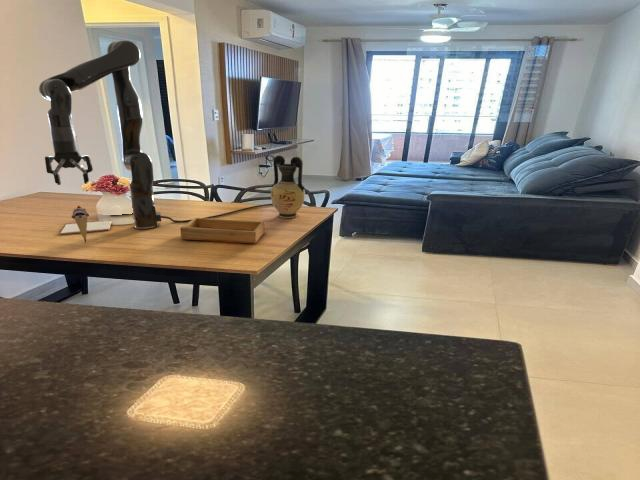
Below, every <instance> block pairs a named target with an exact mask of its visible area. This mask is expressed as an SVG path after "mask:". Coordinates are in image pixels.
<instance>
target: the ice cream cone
mask: <svg viewBox="0 0 640 480" xmlns="http://www.w3.org/2000/svg"><path fill="white" fill-rule="evenodd" d="M86 209H87V208H83V207H81V206H80V205H77V207H75V208H74V209H73V211H72V215H71V218H72V219H73V220H74V221H75V223H77V225H78V228H79V230H80V232H81V233H80V234H81V236H82V238H83V240H84V242H85V244H86V243H87V233H88V232H87V222H88V218H89V216H90V214H89V213H88V212H87V210H86Z"/></svg>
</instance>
